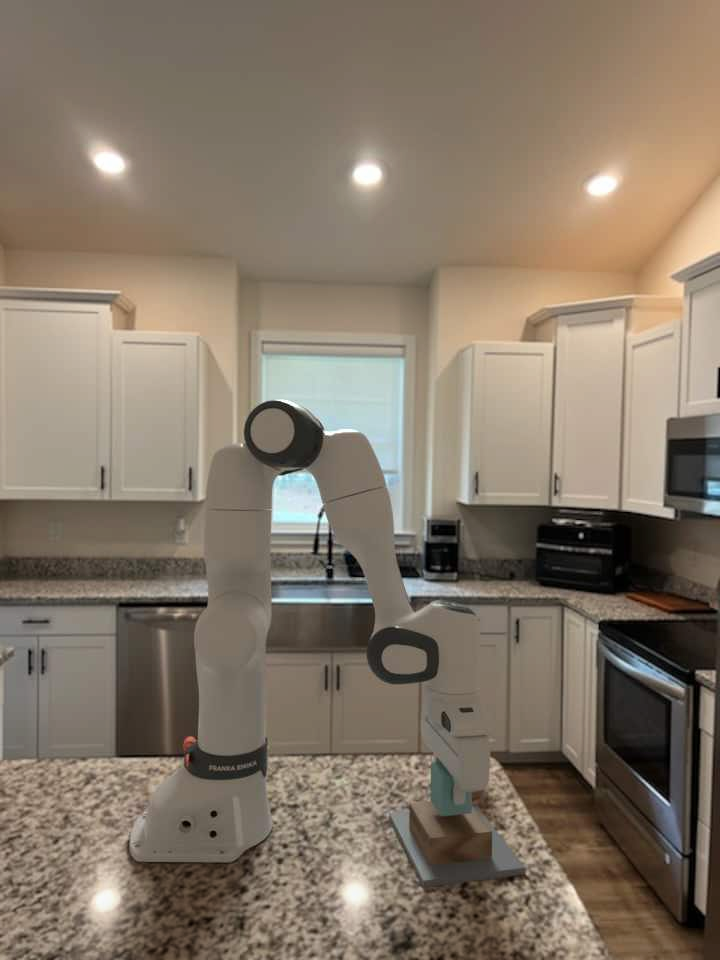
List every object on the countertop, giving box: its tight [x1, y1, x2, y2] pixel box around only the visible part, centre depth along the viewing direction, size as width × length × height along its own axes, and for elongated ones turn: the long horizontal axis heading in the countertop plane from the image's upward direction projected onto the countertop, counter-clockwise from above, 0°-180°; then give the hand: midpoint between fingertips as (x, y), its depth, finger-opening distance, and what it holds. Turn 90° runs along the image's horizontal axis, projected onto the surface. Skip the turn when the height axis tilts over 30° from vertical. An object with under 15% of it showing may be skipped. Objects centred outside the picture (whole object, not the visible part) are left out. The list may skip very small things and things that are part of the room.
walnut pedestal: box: [408, 800, 492, 866], centre depth 92 cm, size 10×10×4 cm
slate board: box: [388, 803, 527, 888], centre depth 93 cm, size 16×18×1 cm
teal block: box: [429, 761, 473, 816], centre depth 92 cm, size 5×5×6 cm
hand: (450, 791), depth 92 cm, fingers closed on teal block, 5 cm apart
